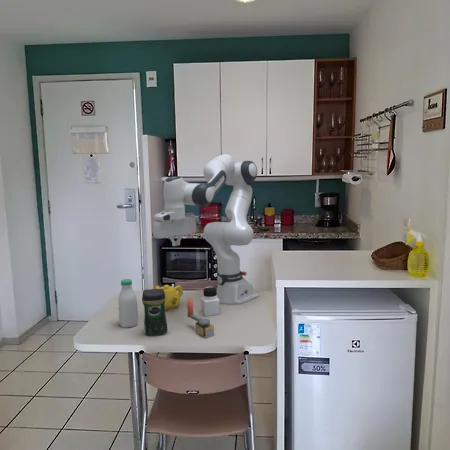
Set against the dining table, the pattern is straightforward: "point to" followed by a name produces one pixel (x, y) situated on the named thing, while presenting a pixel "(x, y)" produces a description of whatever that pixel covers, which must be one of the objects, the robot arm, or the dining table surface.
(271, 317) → the dining table surface
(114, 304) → the dining table surface
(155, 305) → the coffee jar
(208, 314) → the medicine bottle
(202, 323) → the lever
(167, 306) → the teapot
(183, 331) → the dining table surface
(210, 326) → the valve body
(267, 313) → the dining table surface
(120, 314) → the milk bottle
